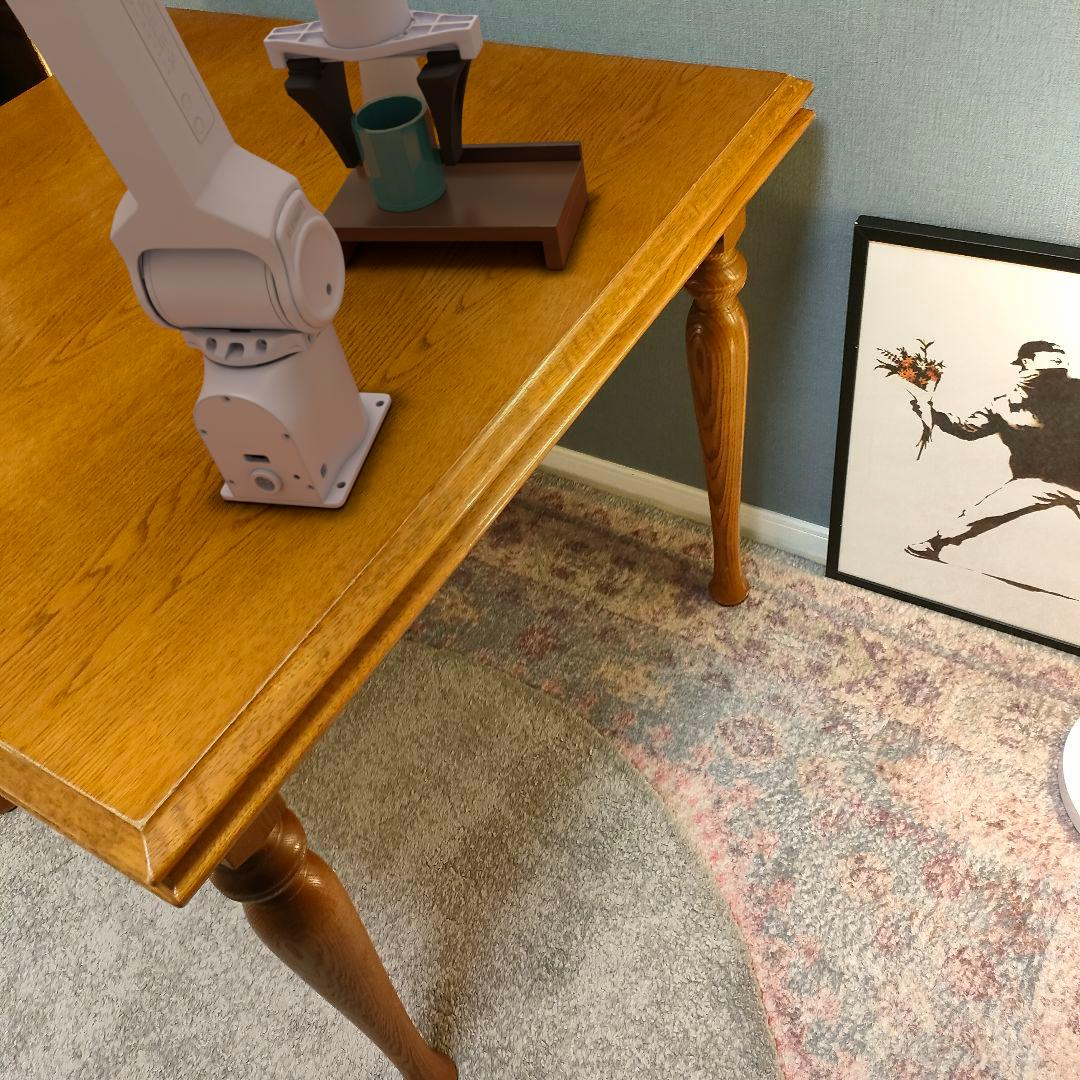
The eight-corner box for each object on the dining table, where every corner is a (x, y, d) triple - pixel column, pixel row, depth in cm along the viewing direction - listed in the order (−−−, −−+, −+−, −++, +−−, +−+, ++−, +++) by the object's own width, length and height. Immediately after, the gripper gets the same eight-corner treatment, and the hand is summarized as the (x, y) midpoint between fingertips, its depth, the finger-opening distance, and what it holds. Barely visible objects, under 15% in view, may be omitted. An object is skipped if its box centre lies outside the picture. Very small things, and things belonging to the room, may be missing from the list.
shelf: (563, 270, 70) (553, 210, 66) (329, 268, 75) (309, 212, 71) (588, 199, 75) (581, 140, 72) (369, 201, 80) (352, 146, 77)
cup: (434, 212, 71) (413, 131, 66) (364, 212, 72) (339, 133, 68) (455, 171, 74) (437, 92, 70) (388, 172, 76) (366, 95, 71)
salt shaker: (425, 142, 85) (385, -21, 75) (363, 144, 87) (315, -15, 77) (443, 108, 89) (406, -52, 79) (383, 111, 90) (340, -45, 80)
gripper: (477, -81, 62) (514, 128, 72) (268, -62, 66) (331, 134, 76) (444, -34, 58) (489, 181, 68) (223, -17, 61) (297, 184, 72)
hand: (404, 160), depth 72 cm, fingers open, 7 cm apart
